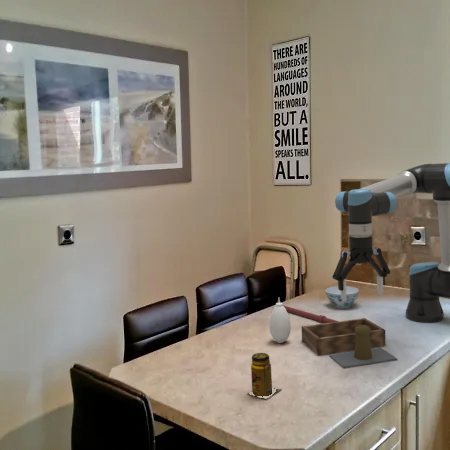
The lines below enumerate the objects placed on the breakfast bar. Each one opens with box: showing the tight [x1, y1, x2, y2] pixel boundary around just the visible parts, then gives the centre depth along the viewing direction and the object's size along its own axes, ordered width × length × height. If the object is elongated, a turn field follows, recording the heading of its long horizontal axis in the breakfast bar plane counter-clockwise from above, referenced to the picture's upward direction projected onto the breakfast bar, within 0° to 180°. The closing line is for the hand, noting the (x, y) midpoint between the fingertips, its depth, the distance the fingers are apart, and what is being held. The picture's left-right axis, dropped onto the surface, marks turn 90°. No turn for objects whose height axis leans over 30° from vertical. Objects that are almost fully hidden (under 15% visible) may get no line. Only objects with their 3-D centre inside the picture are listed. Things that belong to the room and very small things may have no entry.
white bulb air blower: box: [269, 298, 292, 344], centre depth 205 cm, size 8×8×18 cm
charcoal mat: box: [328, 347, 399, 369], centre depth 186 cm, size 20×11×1 cm, turn 103°
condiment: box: [250, 352, 282, 397], centre depth 163 cm, size 7×8×12 cm
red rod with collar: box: [283, 304, 340, 324], centre depth 232 cm, size 45×3×3 cm, turn 36°
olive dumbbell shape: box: [354, 325, 372, 360], centre depth 185 cm, size 6×6×11 cm
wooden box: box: [301, 317, 387, 356], centre depth 201 cm, size 26×15×6 cm, turn 103°
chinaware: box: [325, 285, 360, 309], centre depth 248 cm, size 15×15×8 cm
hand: (362, 297), depth 183 cm, fingers open, 13 cm apart
